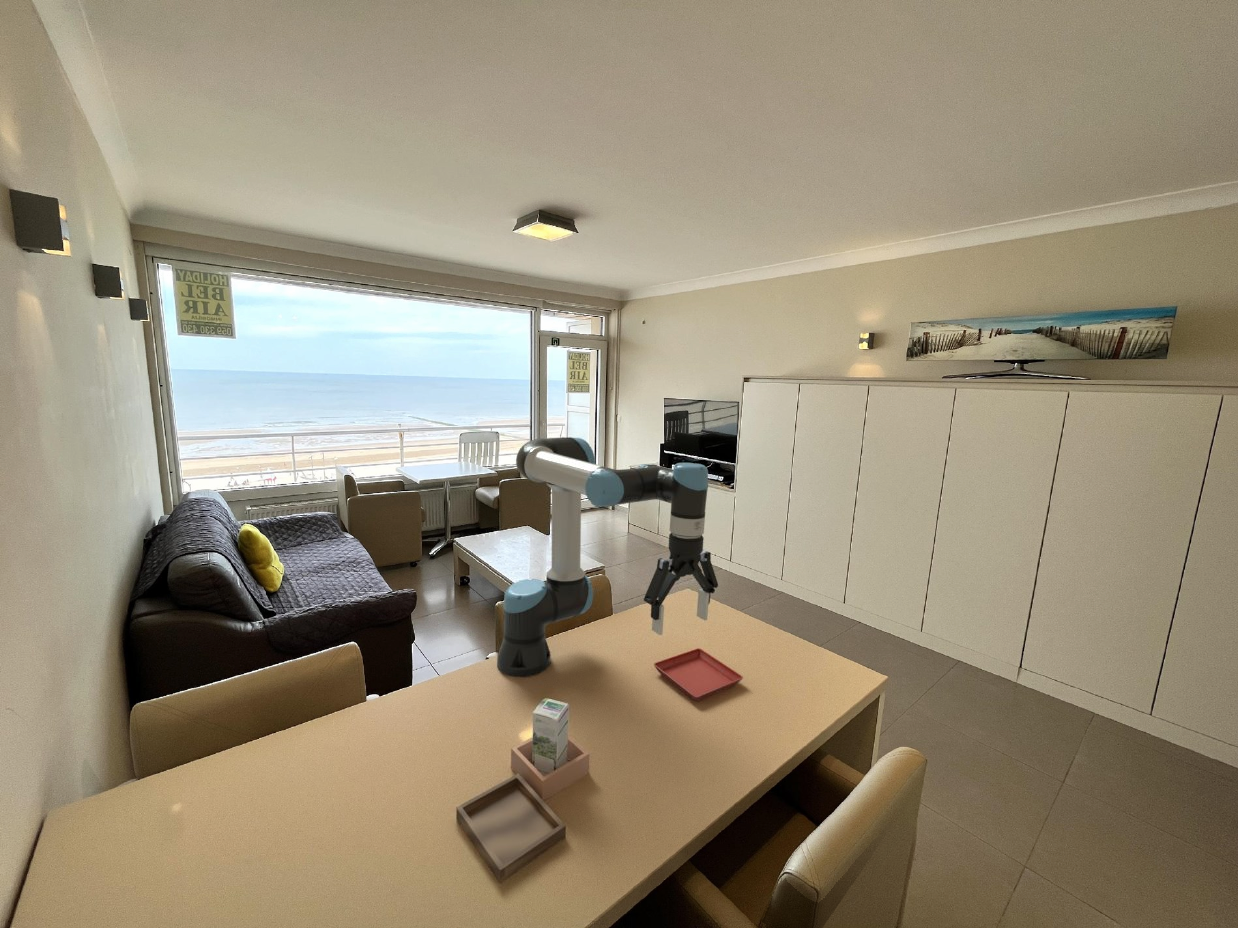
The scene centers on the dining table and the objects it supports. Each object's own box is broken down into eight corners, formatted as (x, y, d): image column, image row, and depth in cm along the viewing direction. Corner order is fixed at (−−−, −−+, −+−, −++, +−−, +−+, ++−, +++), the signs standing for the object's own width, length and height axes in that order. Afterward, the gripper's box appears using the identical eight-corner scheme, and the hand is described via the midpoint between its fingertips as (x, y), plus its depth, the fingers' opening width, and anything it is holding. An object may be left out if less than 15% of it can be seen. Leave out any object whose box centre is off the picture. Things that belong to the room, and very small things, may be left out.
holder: (510, 767, 106) (511, 747, 105) (556, 743, 114) (556, 724, 113) (542, 801, 98) (542, 780, 97) (588, 773, 105) (589, 753, 105)
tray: (456, 818, 93) (456, 807, 93) (518, 783, 102) (518, 773, 101) (500, 883, 81) (500, 870, 81) (565, 837, 90) (565, 825, 90)
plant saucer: (743, 687, 139) (744, 676, 139) (695, 708, 129) (696, 696, 129) (698, 657, 154) (699, 647, 153) (651, 674, 144) (652, 663, 143)
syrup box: (568, 764, 108) (570, 701, 105) (555, 784, 102) (557, 718, 100) (544, 757, 109) (545, 695, 107) (530, 776, 104) (531, 711, 102)
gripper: (653, 547, 101) (647, 646, 104) (738, 530, 115) (730, 618, 118) (630, 537, 107) (625, 631, 110) (714, 522, 121) (707, 606, 124)
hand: (680, 624), depth 114 cm, fingers open, 13 cm apart
